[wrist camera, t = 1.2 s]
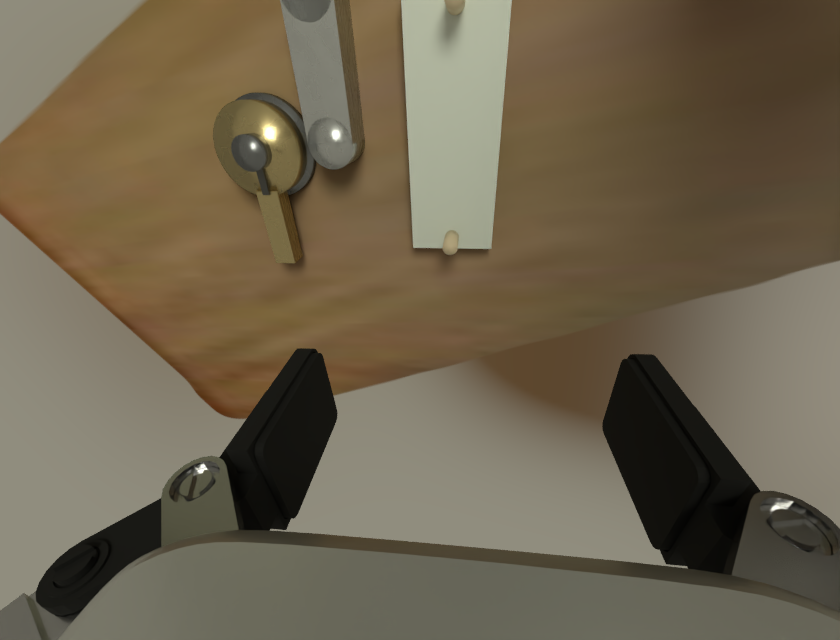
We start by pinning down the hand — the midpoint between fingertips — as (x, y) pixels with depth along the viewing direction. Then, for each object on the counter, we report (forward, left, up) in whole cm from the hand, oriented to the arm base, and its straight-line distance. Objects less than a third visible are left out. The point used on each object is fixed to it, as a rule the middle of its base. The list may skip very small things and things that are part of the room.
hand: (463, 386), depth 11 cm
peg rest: (-5, -2, -27) cm, 28 cm away
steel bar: (-10, -12, -27) cm, 32 cm away
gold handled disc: (-1, -20, -26) cm, 33 cm away
